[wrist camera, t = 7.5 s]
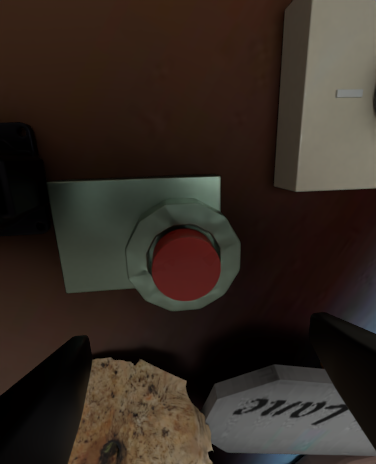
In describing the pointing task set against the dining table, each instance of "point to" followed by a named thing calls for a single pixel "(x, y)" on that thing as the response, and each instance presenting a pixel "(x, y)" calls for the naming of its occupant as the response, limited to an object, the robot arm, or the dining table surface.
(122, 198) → the button box
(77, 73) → the dining table surface
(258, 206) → the dining table surface
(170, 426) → the sandwich
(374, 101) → the stove knob
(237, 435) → the sign
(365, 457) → the hourglass
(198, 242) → the red button
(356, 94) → the panel
